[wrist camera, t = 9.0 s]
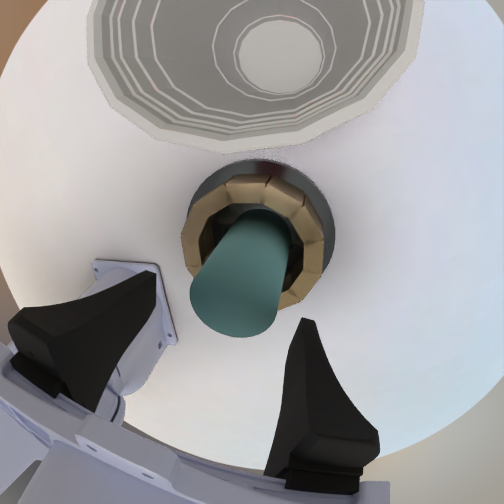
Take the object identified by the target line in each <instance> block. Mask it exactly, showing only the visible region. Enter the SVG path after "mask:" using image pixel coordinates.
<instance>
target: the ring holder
mask: <svg viewBox="0 0 504 504" xmlns="http://www.w3.org/2000/svg"><path fill="white" fill-rule="evenodd" d="M251 209H267V210H270V211H273V212H275V213H276V214H278V215H279V216H281V217H282V218H283V219H284V220H285V222H286V223H287V225H288V227H289V229H290V232H291V246H290V251H289V256H288V261H287V266H286V271H285V276H284V281H283V286H282V291H281V295H280V300H279V305H278V309H277V311H278V310H281V309H283V308H286V307H289V306H291V305H294V304H296V303H299V302H300V301H301V300H303V299H304V298H305V296H306V295H307V294H308V292H309V291H310V290H311V289H312V287H313V286H314V285H315V283H316V282H317V281H318V279H319V278H320V277H321V275H322V273H323V272H324V270H325V269H326V267H327V266H328V264H329V261H330V259H331V257H332V253H333V250H334V244H335V227H334V220H333V216H332V212H331V209H330V207H329V204H328V202H327V200H326V198H325V197H324V195H323V194H322V192H321V191H320V190H319V188H318V187H317V186H316V185H315V184H314V183H313V182H312V181H311V180H310V179H309V178H308V177H307V176H305V175H304V174H302V173H301V172H299V171H298V170H296V169H294V168H292V167H290V166H288V165H286V164H282V163H279V162H276V161H271V160H264V159H251V160H243V161H239V162H235V163H232V164H230V165H227V166H225V167H223V168H221V169H220V170H218V171H216V172H215V173H213V174H212V175H211V176H210V177H208V178H207V179H206V180H205V181H204V182H203V183H202V184H201V185H200V187H199V188H198V190H197V191H196V192H195V194H194V196H193V198H192V200H191V203H190V206H189V209H188V214H187V221H186V223H185V225H184V228H183V230H182V233H181V234H182V235H181V241H182V247H183V252H184V258H185V264H186V267H188V268H187V269H188V271H189V272H190V273H191V275H192V276H193V277H194V278H195V277H196V275H197V274H198V272H199V271H200V269H201V268H202V267H203V265H204V264H205V262H206V261H207V259H208V258H209V257H210V255H211V254H212V252H213V251H214V249H215V248H216V247H217V245H218V244H219V242H220V241H221V240H222V238H223V237H224V235H225V234H226V233H227V231H228V230H229V228H230V227H231V226H232V224H233V223H234V221H235V220H236V219H237V218H238V217H239V216H240V215H241V214H242V213H244V212H246V211H248V210H251Z"/></svg>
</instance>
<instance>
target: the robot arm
mask: <svg viewBox="0 0 504 504" xmlns="http://www.w3.org/2000/svg"><path fill="white" fill-rule="evenodd" d="M91 264H92V268H93V271H94V274H95V277H96V280H97V281H96V282H95V283H94V284H93V285H92V286H91V287H90V288H89V289H87V290H86V291H85V292H84V293H83V294H82V295H81V296H80V297H79V298H78V299H77V300H74V301H70V302H66V303H61V304H56V305H50V306H41V307H24V308H22V309H21V310H20V311H19V312H18V313H17V314H16V315H15V316H14V317H13V318H12V319H11V320H10V321H9V322H8V330H9V333H10V335H11V337H12V342H10V343H9V344H8V346H7V347H6V346H5V345H4V344H3V343H1V342H0V495H1V494H2V493H3V491H5V490H6V489H7V487H9V485H11V484H12V483H13V482H14V480H16V479H17V478H18V477H19V476H20V475H21V474H22V473H23V472H24V470H26V469H27V468H28V467H29V466H30V465H31V464H32V463H33V462H34V461H35V460H43V461H42V463H41V464H40V466H39V468H38V469H37V471H36V473H35V474H34V476H33V478H32V479H31V481H30V483H29V484H28V486H27V488H26V490H25V491H24V493H23V495H22V496H21V498H20V500H19V502H18V504H390V482H388V481H363V482H360V483H359V480H360V478H359V477H360V476H362V475H363V467H364V466H366V465H367V464H368V463H370V462H371V461H373V460H374V459H375V458H376V457H377V456H378V455H379V453H380V442H379V435H378V431H377V430H376V429H375V428H374V427H373V426H372V425H371V424H370V423H369V422H368V421H367V420H366V419H365V418H364V416H363V415H362V414H361V413H360V412H359V411H358V409H357V408H356V407H355V406H354V404H353V403H352V402H351V400H350V399H349V397H348V396H347V395H346V393H345V392H344V390H343V388H342V387H341V385H340V383H339V381H338V380H337V378H336V376H335V374H334V372H333V370H332V368H331V365H330V363H329V361H328V359H327V356H326V353H325V351H324V348H323V346H322V343H321V340H320V337H319V333H318V330H317V327H316V323H315V321H314V320H310V319H306V318H303V317H302V318H301V320H300V323H299V325H298V327H297V330H296V332H295V335H294V337H293V339H292V342H291V344H290V346H289V350H288V355H287V360H286V364H285V374H284V384H283V394H282V404H281V410H280V415H279V419H278V424H277V428H276V432H275V436H274V440H273V444H272V447H271V451H270V454H269V458H268V461H267V465H266V468H265V471H264V474H263V475H258V474H254V473H249V472H245V471H241V470H237V469H233V468H229V467H225V466H222V465H218V464H214V463H212V462H208V461H205V460H202V459H199V458H196V457H193V456H190V455H187V454H184V453H181V452H178V451H176V450H173V449H170V448H168V447H165V446H163V445H160V444H158V443H156V442H153V441H151V440H149V439H146V438H144V437H142V436H140V435H137V434H135V433H133V432H131V431H128V430H126V429H124V428H122V427H121V425H122V423H123V420H124V416H125V400H124V398H123V397H122V396H126V395H129V394H132V393H133V392H135V391H137V390H138V389H140V388H141V387H142V386H143V385H144V384H145V382H146V381H147V379H148V377H149V376H150V374H151V372H152V370H153V369H154V367H155V365H156V364H157V362H158V360H159V359H160V357H161V355H162V353H163V352H164V350H165V348H166V347H167V345H176V344H177V338H176V334H175V331H174V327H173V323H172V320H171V316H170V312H169V309H168V305H167V301H166V297H165V293H164V289H163V285H162V281H161V276H160V272H159V268H158V267H157V266H156V265H155V264H145V263H132V262H119V261H106V260H94V261H92V263H91ZM97 269H98V270H97Z"/></svg>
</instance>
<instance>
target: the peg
mask: <svg viewBox="0 0 504 504" xmlns="http://www.w3.org/2000/svg"><path fill="white" fill-rule="evenodd" d="M290 246H291V232H290V229H289V227H288V225H287V223H286V222H285V220H284V219H283V218H282V217H281V216H279V215H278V214H276V213H275V212H273V211H270V210H267V209H251V210H248V211H246V212H244V213H242V214H241V215H240V216H239V217H238V218H237V219H236V220H235V221H234V223H233V224H232V226H231V227H230V228H229V230H228V231H227V233H226V234H225V235H224V237H223V238H222V240H221V241H220V242H219V244H218V245H217V247H216V248H215V249H214V251H213V252H212V254H211V255H210V257H209V258H208V259H207V261H206V262H205V264H204V265H203V267H202V268H201V269H200V271H199V272H198V274H197V275H196V277H195V278H194V280H193V282H192V284H191V287H190V301H191V304H192V307H193V309H194V311H195V313H196V314H197V316H198V317H199V318H200V319H201V320H202V321H203V322H204V323H205V324H206V325H207V326H208V327H210V328H211V329H213V330H215V331H217V332H219V333H221V334H224V335H227V336H231V337H241V338H243V337H251V336H255V335H258V334H260V333H262V332H264V331H265V330H267V329H268V328H269V327H270V326H271V325H272V323H273V322H274V320H275V317H276V314H277V309H278V305H279V300H280V295H281V291H282V286H283V281H284V276H285V271H286V266H287V261H288V256H289V251H290Z"/></svg>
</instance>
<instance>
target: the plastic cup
mask: <svg viewBox="0 0 504 504" xmlns="http://www.w3.org/2000/svg"><path fill="white" fill-rule="evenodd" d="M423 11H424V0H93V2H92V4H91V7H90V10H89V13H88V15H87V59H88V66H89V68H90V70H91V72H92V74H93V75H94V77H95V79H96V81H97V83H98V85H99V87H100V89H101V91H102V93H103V95H104V96H105V98H106V100H107V102H108V104H109V106H110V107H111V108H112V109H114V110H115V111H116V112H118V113H119V114H121V115H122V116H124V117H125V118H126V119H128V120H129V121H131V122H132V123H133V124H135V125H136V126H138V127H139V128H140V129H142V130H143V131H145V132H146V133H147V134H149V135H150V136H151V137H153V138H154V139H156V140H160V141H165V142H170V143H175V144H180V145H185V146H190V147H194V148H199V149H203V150H208V151H212V152H216V153H220V154H228V153H234V152H241V151H248V150H255V149H263V148H271V147H279V146H288V145H298V144H304V143H305V142H307V141H309V140H311V139H313V138H315V137H317V136H319V135H321V134H323V133H325V132H327V131H329V130H331V129H333V128H335V127H337V126H339V125H341V124H343V123H345V122H347V121H349V120H351V119H353V118H355V117H357V116H360V115H362V114H364V113H366V112H368V111H370V110H372V109H374V107H375V106H376V105H377V104H378V103H379V101H380V100H381V99H382V98H383V97H384V95H385V94H386V93H387V92H388V91H389V89H390V88H391V87H392V86H393V85H394V83H395V82H396V81H397V80H398V79H399V78H400V76H401V75H402V74H403V73H404V72H405V70H406V69H407V68H408V67H409V66H410V64H411V63H412V62H413V61H414V60H415V58H416V54H417V49H418V43H419V37H420V31H421V25H422V18H423Z"/></svg>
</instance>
